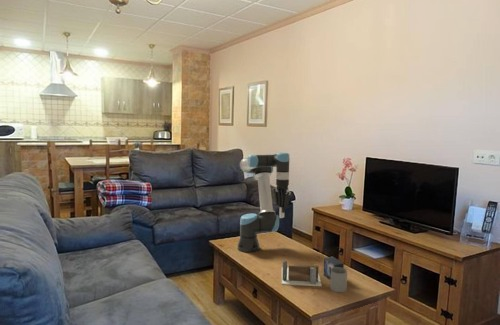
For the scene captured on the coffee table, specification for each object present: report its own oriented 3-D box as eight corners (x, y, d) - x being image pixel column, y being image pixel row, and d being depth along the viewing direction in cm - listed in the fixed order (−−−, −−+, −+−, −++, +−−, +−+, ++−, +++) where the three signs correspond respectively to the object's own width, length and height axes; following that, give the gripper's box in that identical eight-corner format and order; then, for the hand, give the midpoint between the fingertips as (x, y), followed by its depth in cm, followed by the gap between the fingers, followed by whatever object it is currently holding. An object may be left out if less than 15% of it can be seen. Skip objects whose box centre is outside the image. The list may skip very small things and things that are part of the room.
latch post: (309, 283, 191) (310, 267, 190) (315, 283, 191) (315, 267, 190) (310, 285, 189) (310, 269, 187) (315, 285, 188) (316, 269, 187)
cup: (336, 293, 180) (337, 274, 179) (326, 286, 187) (327, 268, 186) (349, 290, 183) (350, 272, 182) (339, 283, 191) (340, 266, 189)
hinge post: (282, 279, 195) (282, 260, 193) (286, 279, 194) (287, 260, 193) (282, 281, 192) (282, 262, 191) (286, 281, 192) (287, 262, 191)
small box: (322, 275, 201) (323, 257, 199) (332, 273, 203) (332, 256, 202) (333, 283, 191) (334, 264, 190) (343, 281, 194) (344, 262, 192)
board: (281, 268, 210) (281, 267, 210) (317, 269, 208) (317, 268, 208) (281, 284, 189) (281, 283, 189) (321, 286, 187) (321, 285, 187)
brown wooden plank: (288, 278, 194) (288, 263, 193) (318, 279, 193) (318, 264, 192) (288, 280, 192) (288, 264, 191) (318, 281, 190) (319, 266, 189)
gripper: (270, 178, 211) (269, 216, 214) (286, 181, 201) (285, 221, 204) (279, 176, 216) (278, 214, 219) (295, 179, 206) (294, 218, 209)
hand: (281, 217), depth 212 cm, fingers closed
